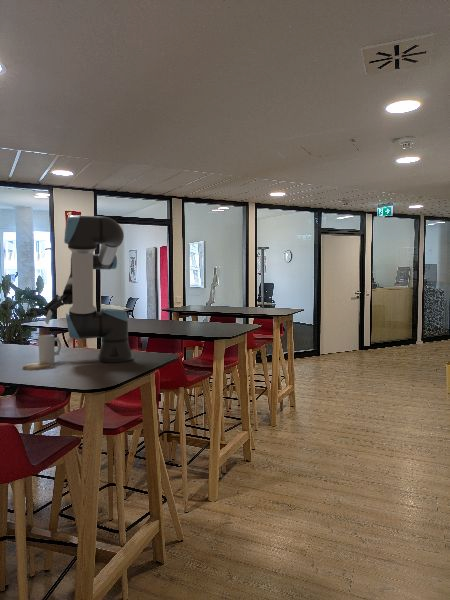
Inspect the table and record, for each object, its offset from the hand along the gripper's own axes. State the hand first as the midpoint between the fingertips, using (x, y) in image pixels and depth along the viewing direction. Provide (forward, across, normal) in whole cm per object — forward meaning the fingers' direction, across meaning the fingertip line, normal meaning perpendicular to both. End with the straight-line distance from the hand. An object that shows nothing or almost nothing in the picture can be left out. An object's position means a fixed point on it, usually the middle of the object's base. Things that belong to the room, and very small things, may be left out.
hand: (60, 322), depth 217 cm
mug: (+20, 0, -4) cm, 20 cm away
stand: (+27, 0, +4) cm, 28 cm away
